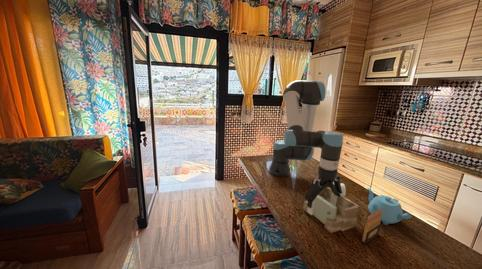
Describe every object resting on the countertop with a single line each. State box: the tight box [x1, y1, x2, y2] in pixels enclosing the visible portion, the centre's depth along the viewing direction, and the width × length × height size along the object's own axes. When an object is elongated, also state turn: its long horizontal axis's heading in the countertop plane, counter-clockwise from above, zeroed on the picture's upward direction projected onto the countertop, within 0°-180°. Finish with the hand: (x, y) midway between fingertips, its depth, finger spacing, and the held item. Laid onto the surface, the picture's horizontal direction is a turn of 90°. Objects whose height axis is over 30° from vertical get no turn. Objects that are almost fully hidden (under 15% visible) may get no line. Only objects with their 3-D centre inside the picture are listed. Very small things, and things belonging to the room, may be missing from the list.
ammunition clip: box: [360, 209, 382, 244], centre depth 77 cm, size 11×2×12 cm, turn 121°
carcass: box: [302, 187, 361, 234], centre depth 89 cm, size 19×14×10 cm
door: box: [311, 195, 337, 225], centre depth 87 cm, size 14×3×10 cm, turn 23°
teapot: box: [367, 187, 413, 226], centre depth 89 cm, size 15×14×11 cm
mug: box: [328, 182, 347, 198], centre depth 110 cm, size 12×10×8 cm
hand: (321, 210), depth 87 cm, fingers open, 13 cm apart
